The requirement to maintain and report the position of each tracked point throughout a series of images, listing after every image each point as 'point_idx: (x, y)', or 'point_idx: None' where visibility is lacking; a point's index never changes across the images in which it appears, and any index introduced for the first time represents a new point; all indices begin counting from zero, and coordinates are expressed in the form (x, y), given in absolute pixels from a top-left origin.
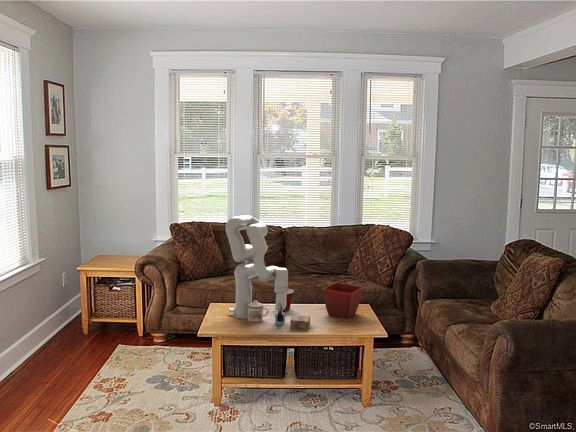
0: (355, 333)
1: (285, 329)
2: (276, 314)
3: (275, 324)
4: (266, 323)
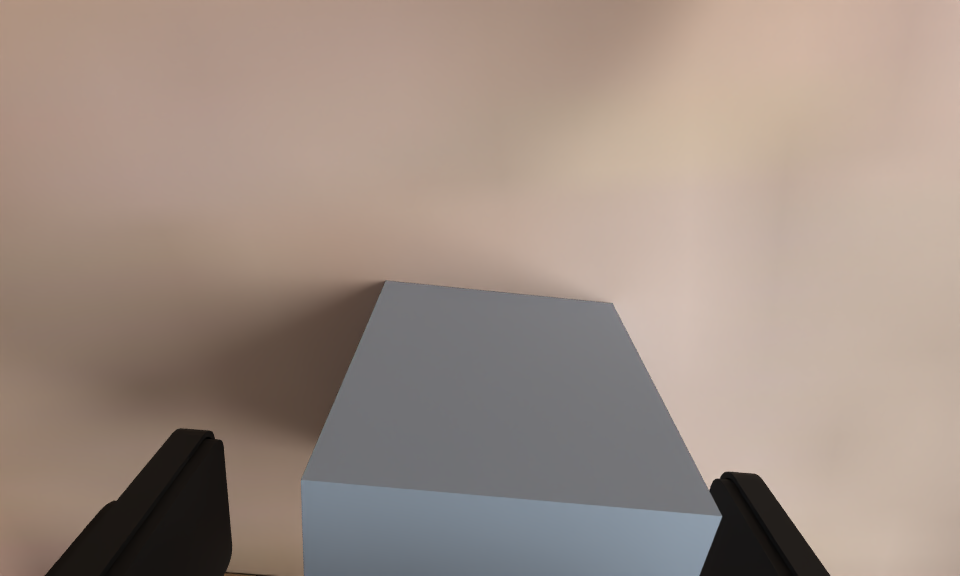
0: None
1: (112, 499)
2: (335, 520)
3: (382, 292)
4: (460, 18)
